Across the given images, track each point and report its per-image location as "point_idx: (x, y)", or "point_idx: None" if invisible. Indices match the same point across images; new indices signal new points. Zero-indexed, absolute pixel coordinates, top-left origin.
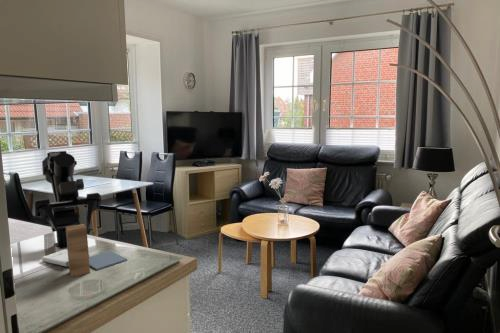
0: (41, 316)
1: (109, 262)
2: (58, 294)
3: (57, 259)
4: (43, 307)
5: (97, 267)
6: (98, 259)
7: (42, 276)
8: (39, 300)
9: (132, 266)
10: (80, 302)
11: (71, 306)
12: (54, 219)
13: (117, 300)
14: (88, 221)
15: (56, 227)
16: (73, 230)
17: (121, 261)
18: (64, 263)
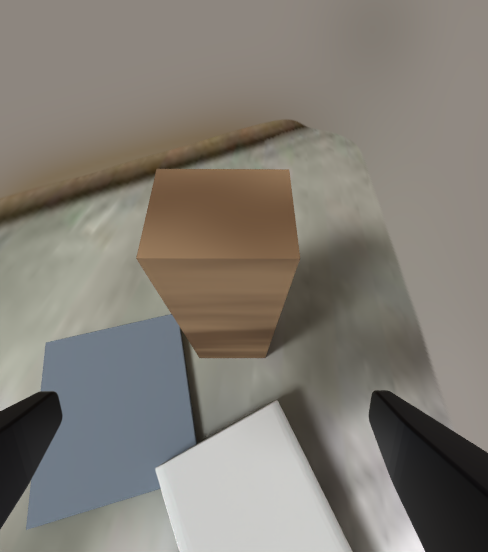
0: (333, 159)
1: (115, 346)
2: (303, 222)
3: (312, 493)
4: (333, 185)
5: (170, 324)
6: (134, 415)
7: (359, 378)
8: (345, 216)
9: (72, 280)
10: (260, 168)
11: (279, 164)
12: (481, 483)
13: (195, 144)
14: (36, 403)
15: (385, 397)
16: (248, 175)
17: (74, 337)
18: (281, 408)
